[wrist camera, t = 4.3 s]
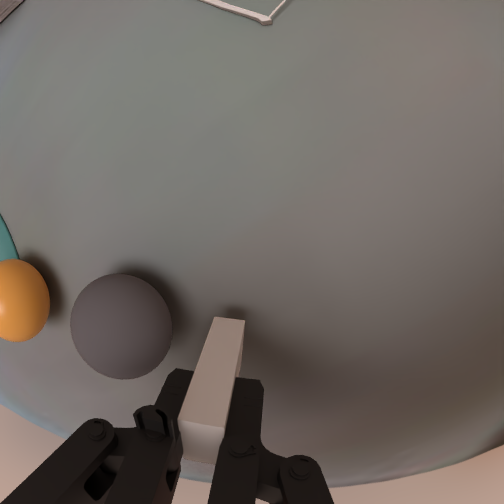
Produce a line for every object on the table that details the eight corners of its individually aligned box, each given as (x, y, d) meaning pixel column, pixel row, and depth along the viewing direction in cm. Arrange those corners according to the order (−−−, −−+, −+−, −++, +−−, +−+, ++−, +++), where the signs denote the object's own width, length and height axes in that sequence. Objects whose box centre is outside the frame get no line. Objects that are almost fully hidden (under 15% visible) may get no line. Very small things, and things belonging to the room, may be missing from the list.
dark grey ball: (36, 345, 11) (74, 294, 16) (119, 414, 12) (135, 353, 18) (98, 280, 10) (130, 239, 15) (193, 369, 12) (195, 307, 17)
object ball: (24, 337, 12) (-39, 327, 10) (59, 350, 16) (2, 344, 15) (35, 243, 14) (-26, 245, 12) (64, 276, 19) (8, 275, 17)
